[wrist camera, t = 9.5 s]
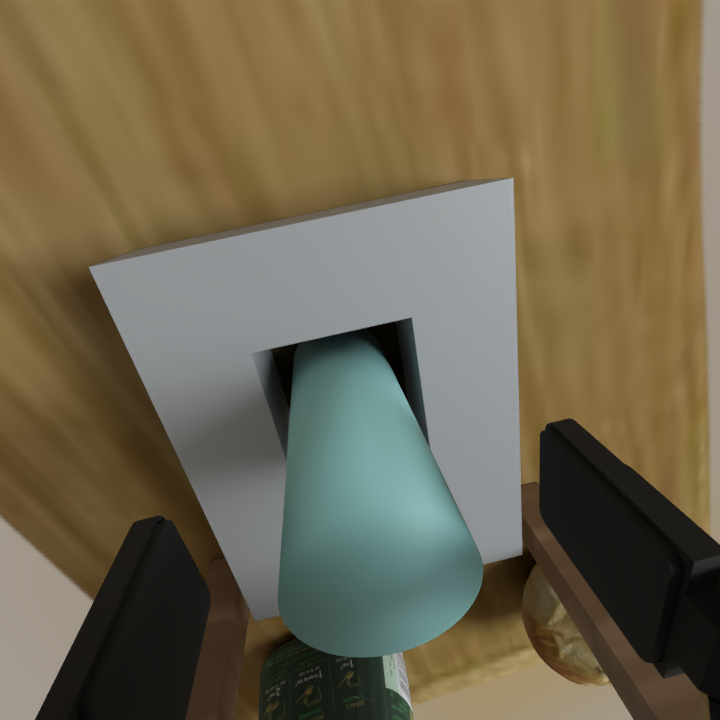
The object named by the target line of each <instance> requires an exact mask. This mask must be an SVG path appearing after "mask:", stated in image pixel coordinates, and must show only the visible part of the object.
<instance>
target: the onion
mask: <svg viewBox="0 0 720 720" xmlns="http://www.w3.org/2000/svg"><path fill="white" fill-rule="evenodd" d="M522 618H523V622H524V626H525V629H526V632H527V635H528V637H529V639H530V641H531V643H532V645H533V647H534V649H535V650H536V652H537V653H538V655H539V656H540V657H541V658H542V660H543V661H544V662H545V663H546V664H547V665H548V666H550V667H551V668H552V669H553V670H554V671H556V672H557V673H559V674H560V675H561V676H563V677H565V678H566V679H568V680H570V681H572V682H574V683H576V684H580V685H586V686H591V685H594V686H602V685H611V682H610V680H609V679H608V677H607V676H606V674H605V672H604V671H603V669H602V668H601V666H600V664H599V663H598V661H597V659H596V658H595V656H594V655H593V653H592V651H591V650H590V648H589V647H588V645H587V643H586V642H585V640H584V638H583V637H582V635H581V634H580V632H579V630H578V629H577V627H576V626H575V624H574V622H573V621H572V619H571V617H570V616H569V614H568V613H567V611H566V609H565V608H564V606H563V605H562V603H561V601H560V600H559V598H558V596H557V595H556V593H555V592H554V590H553V588H552V587H551V585H550V584H549V582H548V580H547V579H546V577H545V576H544V574H543V572H542V571H541V569H540V567H539V566H538V564H537V563H536V564H535V565H534V566H533V568H532V570H531V573H530V575H529V577H528V579H527V582H526V585H525V587H524V592H523V598H522Z"/></svg>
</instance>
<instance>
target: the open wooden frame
mask: <svg viewBox="0 0 720 720" xmlns="http://www.w3.org/2000/svg"><path fill="white" fill-rule="evenodd" d="M521 513H522V540H523V542H524V543H525V545H526V546H527V548H528V550H529V551H530V553H531V555H532V556H533V558H534V559H535V561H536V563H537V564H538V566H539V567H540V569H541V571H542V572H543V574H544V576H545V577H546V579H547V580H548V582H549V584H550V585H551V587H552V588H553V590H554V592H555V593H556V595H557V596H558V598H559V600H560V601H561V603H562V605H563V606H564V608H565V609H566V611H567V613H568V614H569V616H570V617H571V619H572V621H573V622H574V624H575V626H576V627H577V629H578V630H579V632H580V634H581V635H582V637H583V638H584V640H585V642H586V643H587V645H588V647H589V648H590V650H591V651H592V653H593V655H594V656H595V658H596V659H597V661H598V663H599V664H600V666H601V668H602V669H603V671H604V672H605V674H606V676H607V677H608V679H609V680H610V682H611V684H612V685H613V687H614V688H615V690H616V691H617V693H618V695H619V696H620V698H621V700H622V701H623V703H624V705H625V706H626V708H627V709H628V711H629V713H630V714H631V716H632V717H633V719H634V720H703V717H702V705H701V693H700V691H699V690H698V689H697V688H696V687H695V685H694V684H693V683H692V681H691V680H690V679H689V678H688V676H687V675H686V674H685V673H684V674H680V675H676V676H673V677H669V678H665V679H663V677H662V676H661V675H660V673H659V672H658V671H657V669H656V668H655V666H654V665H653V664H652V663H646V662H644V661H643V660H642V659H641V658H640V657H639V656H638V654H637V653H636V652H635V650H634V649H633V647H632V646H631V645H630V643H629V642H628V640H627V639H626V637H625V636H624V635H623V633H622V632H621V630H620V629H619V628H618V626H617V625H616V623H615V622H614V620H613V619H612V618H611V616H610V615H609V613H608V612H607V611H606V609H605V608H604V606H603V605H602V603H601V602H600V601H599V599H598V598H597V596H596V595H595V594H594V592H593V591H592V589H591V588H590V587H589V585H588V584H587V582H586V581H585V579H584V578H583V577H582V575H581V574H580V572H579V571H578V570H577V568H576V567H575V565H574V564H573V562H572V561H571V560H570V558H569V557H568V555H567V554H566V553H565V551H564V550H563V548H562V547H561V545H560V544H559V543H558V541H557V540H556V538H555V537H554V536H553V534H552V533H551V531H550V530H549V529H548V527H547V526H546V524H545V523H544V521H543V519H542V517H541V514H540V510H539V484H538V483H537V482H534V483H530V484H526V485H522V486H521ZM205 583H206V585H207V586H208V588H209V591H210V595H211V604H210V610H209V614H208V619H207V623H206V628H205V633H204V637H203V642H202V646H201V651H200V656H199V660H198V665H197V669H196V674H195V678H194V683H193V688H192V692H191V697H190V701H189V706H188V710H187V715H186V720H235V715H236V707H237V700H238V692H239V685H240V677H241V670H242V662H243V654H244V647H245V639H246V632H247V624H248V617H249V607H248V605H247V603H246V601H245V598H244V596H243V594H242V592H241V590H240V588H239V586H238V584H237V581H236V579H235V577H234V575H233V573H232V571H231V569H230V567H229V564H228V562H227V560H226V558H221V559H217V560H213V561H210V564H209V568H208V572H207V576H206V580H205Z"/></svg>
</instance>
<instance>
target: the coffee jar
mask: <svg viewBox="0 0 720 720" xmlns="http://www.w3.org/2000/svg"><path fill="white" fill-rule="evenodd" d="M259 720H413V712H412V705H411V697H410V690H409V684H408V678H407V672H406V667H405V663H404V658H403V654H402V652H399V653H395V654H390V655H385V656H377V657H346V656H338V655H334V654H330V653H326V652H323V651H320V650H317V649H315V648H313V647H311V646H309V645H307V644H306V643H304V642H302V641H301V640H299V639H298V638H296V639H294V640H292V641H290V642H288V643H286V644H284V645H282V646H280V647H278V648H277V649H275V650H274V651H273V652H272V653H271V654H270V655H269V656H268V657H267V659H266V660H265V662H264V664H263V666H262V669H261V674H260V691H259Z"/></svg>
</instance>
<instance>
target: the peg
mask: <svg viewBox="0 0 720 720" xmlns="http://www.w3.org/2000/svg"><path fill="white" fill-rule="evenodd" d="M482 579H483V563H482V557H481V555H480V552H479V550H478V548H477V545H476V543H475V541H474V539H473V537H472V535H471V533H470V531H469V529H468V527H467V525H466V523H465V520H464V518H463V516H462V514H461V512H460V510H459V508H458V506H457V504H456V502H455V500H454V498H453V495H452V493H451V491H450V489H449V487H448V485H447V483H446V481H445V479H444V477H443V475H442V473H441V470H440V468H439V466H438V464H437V462H436V460H435V458H434V456H433V454H432V452H431V450H430V448H429V445H428V443H427V441H426V439H425V437H424V435H423V433H422V431H421V429H420V427H419V425H418V423H417V420H416V418H415V416H414V414H413V412H412V410H411V408H410V406H409V404H408V402H407V400H406V398H405V395H404V393H403V391H402V389H401V387H400V385H399V383H398V381H397V379H396V377H395V375H394V373H393V371H392V368H391V366H390V364H389V362H388V360H387V358H386V356H385V354H384V352H383V350H382V348H381V346H380V343H379V342H378V340H377V339H376V337H375V336H374V335H373V334H372V333H371V332H370V331H369V330H368V329H366V328H362V329H358V330H353V331H349V332H344V333H340V334H335V335H331V336H326V337H322V338H317V339H313V340H308V341H304V342H300V343H299V344H298V346H297V349H296V351H295V355H294V362H293V377H292V391H291V406H290V421H289V436H288V450H287V465H286V480H285V495H284V509H283V524H282V539H281V554H280V568H279V583H278V598H277V599H278V608H279V611H280V615H281V617H282V619H283V621H284V623H285V625H286V626H287V627H288V629H289V630H290V631H291V632H292V633H293V634H294V635H295V636H296V637H297V638H298V639H299V640H301V641H302V642H304V643H306V644H307V645H309V646H311V647H313V648H315V649H317V650H320V651H323V652H326V653H330V654H334V655H338V656H346V657H377V656H385V655H390V654H395V653H399V652H402V651H406V650H409V649H412V648H414V647H417V646H420V645H422V644H424V643H426V642H428V641H430V640H432V639H434V638H436V637H437V636H439V635H441V634H442V633H444V632H445V631H446V630H448V629H449V628H451V627H452V626H453V625H454V624H455V623H456V622H458V621H459V620H460V619H461V618H462V617H463V615H464V614H465V613H466V612H467V611H468V610H469V608H470V607H471V605H472V604H473V603H474V601H475V599H476V597H477V595H478V593H479V590H480V587H481V584H482Z"/></svg>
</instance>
